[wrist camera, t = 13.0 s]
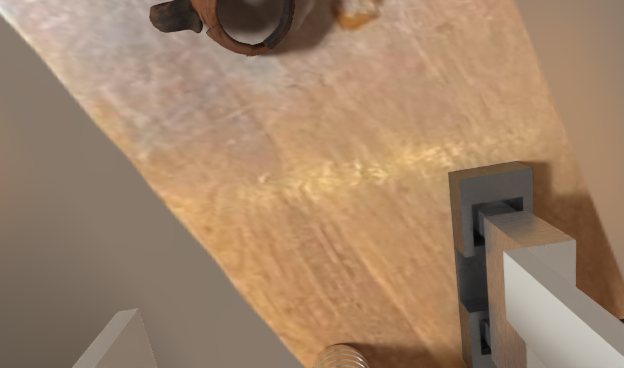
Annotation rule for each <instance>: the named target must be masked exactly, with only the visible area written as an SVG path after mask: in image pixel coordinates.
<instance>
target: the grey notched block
mask: <svg viewBox="0 0 624 368" xmlns="http://www.w3.org/2000/svg"><path fill="white" fill-rule="evenodd" d="M472 216H473V228H474V229H475V230H477V231H478V232H479V233H480V234H481V235H482V236H483V237H484V238H485V250H486V267H487V284H488V302H489V318H488V319H481V320H479V323H480V333H481V335H482V336H483V337H484V339H485V340H486V342H487V343H488V345H489V346H490V348H491V354H492V360H493V362H494V363H495V365H496V366H497V368H546V367H545V365H544V364H543V363H542V362H541V361H540V359H539V358H538V357H537V356H536V354H535V353H534V352H533V351H532V350H531V348H530V347H529V346H528V345H527V344H526V342H525V341H524V340H523V339H522V338H521V336H520V335H519V334H518V333H517V331H516V330H515V329H514V328H513V327H512V325H511V324H510V323H509V322H508V321H507V319H506V303H505V281H504V258H503V251H506V250H513V249H519V248H526V249H528V250H529V251H530V252H532V253H533V254H534V255H536V256H537V257H538V258H539V259H541V260H542V261H543V262H545V263H546V264H547V265H548V266H550V267H551V268H552V269H554V270H555V271H556V272H557V273H559V274H560V275H561V276H563V277H564V278H565V279H567V280H568V281H569V282H570V283H572V284H573V285H574V286H576V240H575V239H574V238H572V237H570V236H569V235H567V234H565V233H564V232H562V231H560V230H559V229H557V228H555V227H554V226H552V225H550V224H549V223H547V222H545V221H544V220H542V219H540V218H539V217H537V216H535V215H534V214H532V213H530V212H529V211H527V210H524V211H516V210H515V209H513V208H512V207H510V206H508V205H507V204H505V203H504V202H502V201H495V202H489V203H483V204H477V205H472Z"/></svg>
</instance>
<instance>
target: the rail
mask: <svg viewBox="0 0 624 368" xmlns="http://www.w3.org/2000/svg"><path fill="white" fill-rule="evenodd" d="M448 175H449V187H450V200H451V212H452V225H453V237H454V250H455V262H456V275H457V287H458V300H459V312H460V324H461V337H462V349H463V359H464V361H465V363H466V365H467V366H468V368H497V366H496V365H495V363H494V362H493V360H492V354H491V348H490V346H489V345H488V343H487V342H486V340H485V339H484V337H483V336H482V335H481V333H480V323H479V320H481V319H488V318H489V302H488V284H487V267H486V250H485V238H484V237H483V236H482V235H481V234H480V233H479V232H478V231H477V230H475V229H474V228H473V216H472V205H477V204H483V203H489V202H495V201H502V202H504V203H505V204H507V205H508V206H510V207H512V208H513V209H515V210H516V211H524V210H527V211H529V212H530V213H532V214H534V204H533V167H530V166H527V165H525V164H522V163H520V162H517V161H514V162H508V163H502V164H496V165H490V166H484V167H478V168H472V169H466V170H460V171H454V172H448Z"/></svg>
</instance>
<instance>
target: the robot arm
mask: <svg viewBox="0 0 624 368" xmlns="http://www.w3.org/2000/svg"><path fill="white" fill-rule="evenodd" d="M503 258H504V281H505V303H506V319H507V321H508V322H509V323H510V324H511V325H512V327H513V328H514V329H515V330H516V331H517V333H518V334H519V335H520V336H521V338H522V339H523V340H524V341H525V342H526V344H527V345H528V346H529V347H530V348H531V350H532V351H533V352H534V353H535V354H536V356H537V357H538V358H539V359H540V361H541V362H542V363H543V364H544V365H545V367H546V368H624V319H620V320H618V319H617V318H616V317H614V316H613V315H612V314H610V313H609V312H608V311H607V310H605V309H604V308H603V307H601V306H600V305H599V304H598V303H596V302H595V301H594V300H592V299H591V298H590V297H588V296H587V295H586V294H585V293H583V292H582V291H581V290H579V289H578V288H577V287H576V286H574V285H573V284H572V283H570V282H569V281H568V280H567V279H565V278H564V277H563V276H561V275H560V274H559V273H557V272H556V271H555V270H554V269H552V268H551V267H550V266H548V265H547V264H546V263H545V262H543V261H542V260H541V259H539V258H538V257H537V256H536V255H534V254H533V253H532V252H530V251H529V250H528V249H526V248H519V249H513V250H506V251H503ZM72 368H158V367H157V364H156V361H155V358H154V355H153V352H152V349H151V346H150V342H149V339H148V336H147V333H146V330H145V327H144V324H143V321H142V318H141V315H140V312H139V309H132V310H126V311H119V312H117V313H116V315H115V316H114V317H113V318H112V320H111V321H110V322H109V323H108V324H107V326H106V327H105V328H104V329H103V331H102V332H101V333H100V334H99V335H98V337H97V338H96V339H95V340H94V341H93V343H92V344H91V345H90V346H89V348H88V349H87V350H86V352H84V354H83V355H82V356H81V357H80V359H79V360H78V361H77V362H76V363H75V365H74V366H73V367H72Z"/></svg>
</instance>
